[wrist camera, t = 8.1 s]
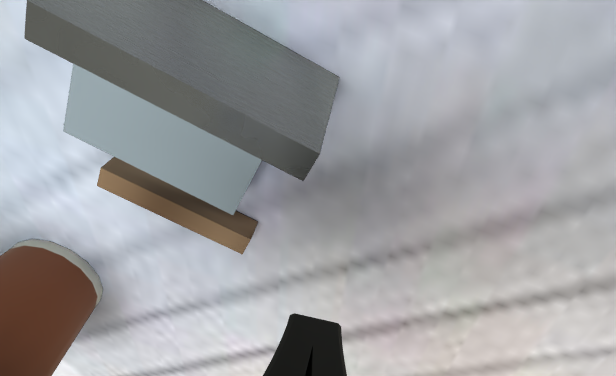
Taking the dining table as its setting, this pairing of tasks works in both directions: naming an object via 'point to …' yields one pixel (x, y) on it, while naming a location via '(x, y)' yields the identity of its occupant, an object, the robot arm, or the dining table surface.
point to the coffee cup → (42, 305)
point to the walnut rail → (176, 205)
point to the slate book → (157, 141)
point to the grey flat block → (197, 70)
